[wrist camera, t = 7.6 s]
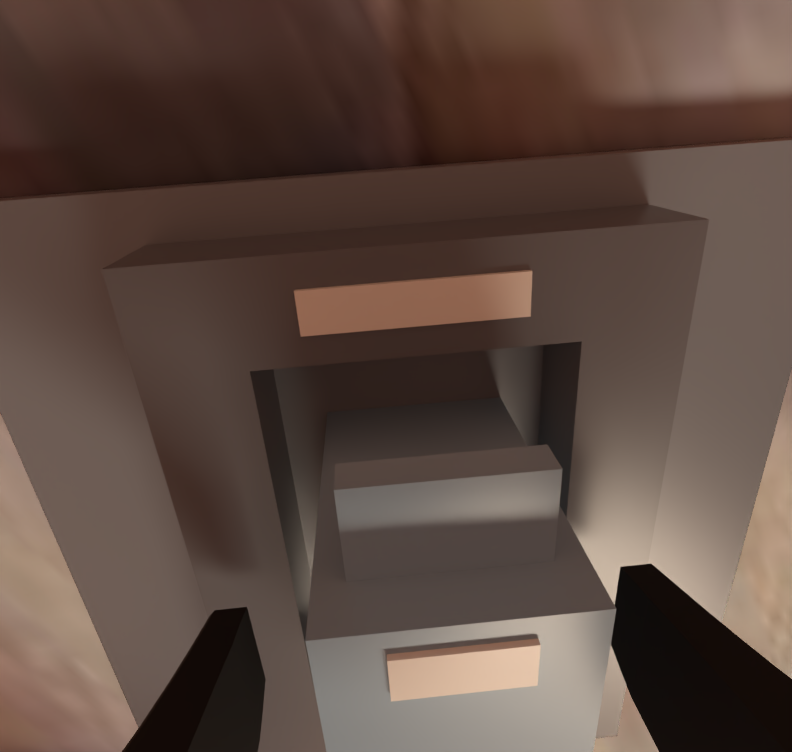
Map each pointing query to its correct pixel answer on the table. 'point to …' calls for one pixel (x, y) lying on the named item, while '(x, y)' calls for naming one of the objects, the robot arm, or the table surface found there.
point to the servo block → (451, 589)
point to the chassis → (388, 372)
